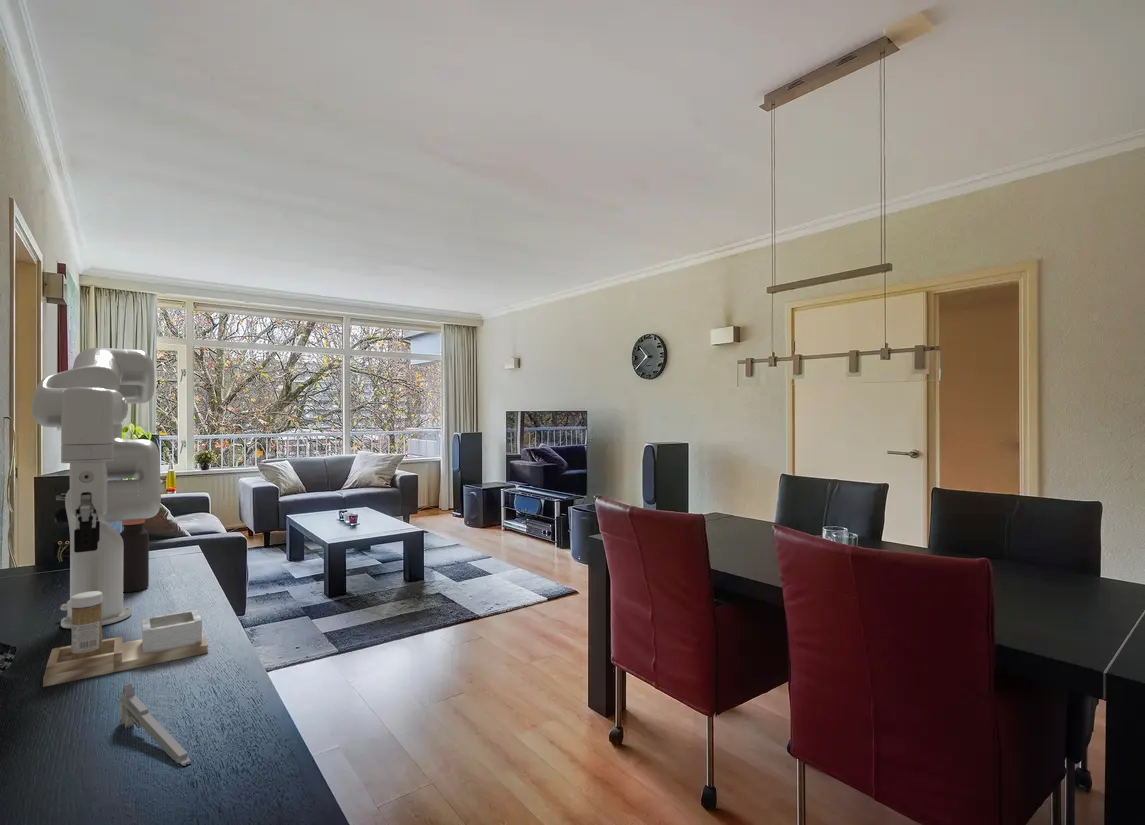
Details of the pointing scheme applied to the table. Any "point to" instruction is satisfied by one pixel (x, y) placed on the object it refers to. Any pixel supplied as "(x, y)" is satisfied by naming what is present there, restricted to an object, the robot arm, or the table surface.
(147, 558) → the vinegar
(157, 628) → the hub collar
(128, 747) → the table surface
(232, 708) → the table surface
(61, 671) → the stand board
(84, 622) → the sprinkles bottle
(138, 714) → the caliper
